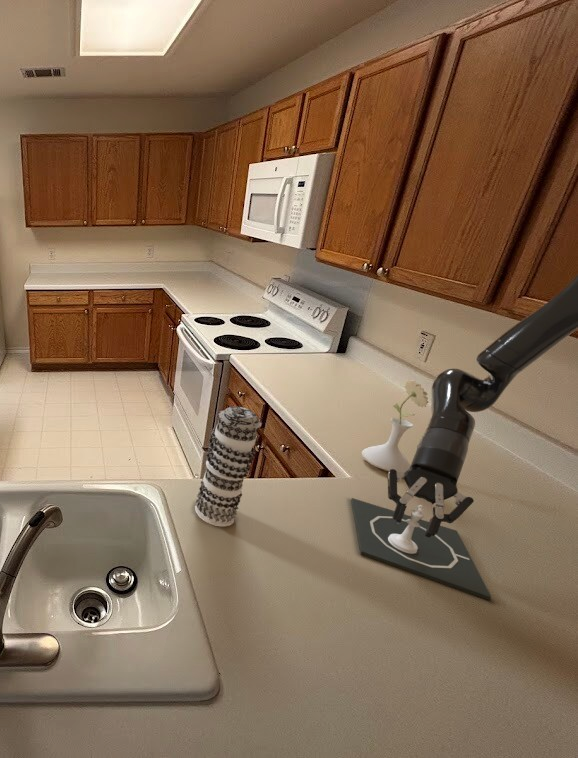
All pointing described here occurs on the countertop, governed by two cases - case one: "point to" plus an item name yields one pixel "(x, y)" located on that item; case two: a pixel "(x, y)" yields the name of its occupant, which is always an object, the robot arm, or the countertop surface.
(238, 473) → the decorative candle
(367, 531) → the slate board
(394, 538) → the chess piece
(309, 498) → the countertop surface
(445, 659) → the countertop surface
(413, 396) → the flower in vase
